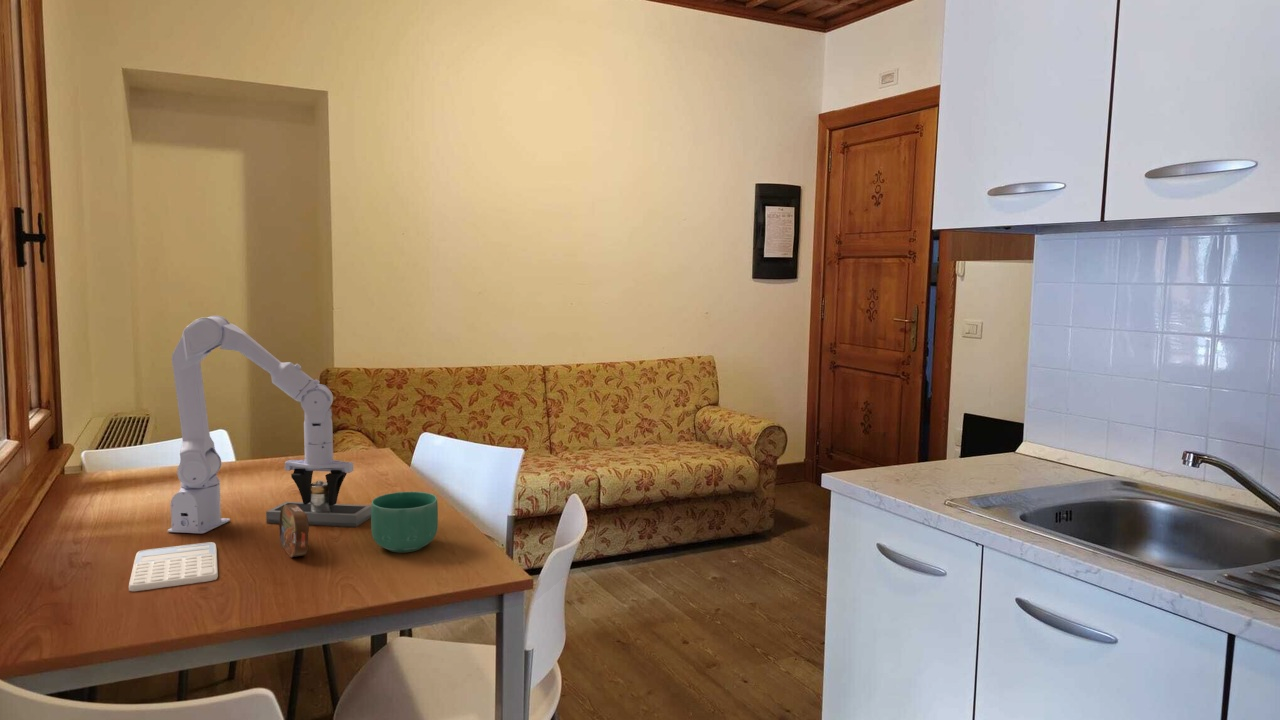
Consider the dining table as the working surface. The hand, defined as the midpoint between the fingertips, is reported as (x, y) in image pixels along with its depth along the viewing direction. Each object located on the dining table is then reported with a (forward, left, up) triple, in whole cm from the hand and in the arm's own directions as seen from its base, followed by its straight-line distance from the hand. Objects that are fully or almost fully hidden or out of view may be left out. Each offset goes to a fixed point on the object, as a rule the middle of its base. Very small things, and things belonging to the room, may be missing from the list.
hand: (320, 503), depth 180 cm
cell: (0, 0, -3) cm, 3 cm away
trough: (0, 0, -3) cm, 3 cm away
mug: (-13, -24, -4) cm, 28 cm away
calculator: (-32, +11, -4) cm, 34 cm away
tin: (-20, -5, -4) cm, 21 cm away
